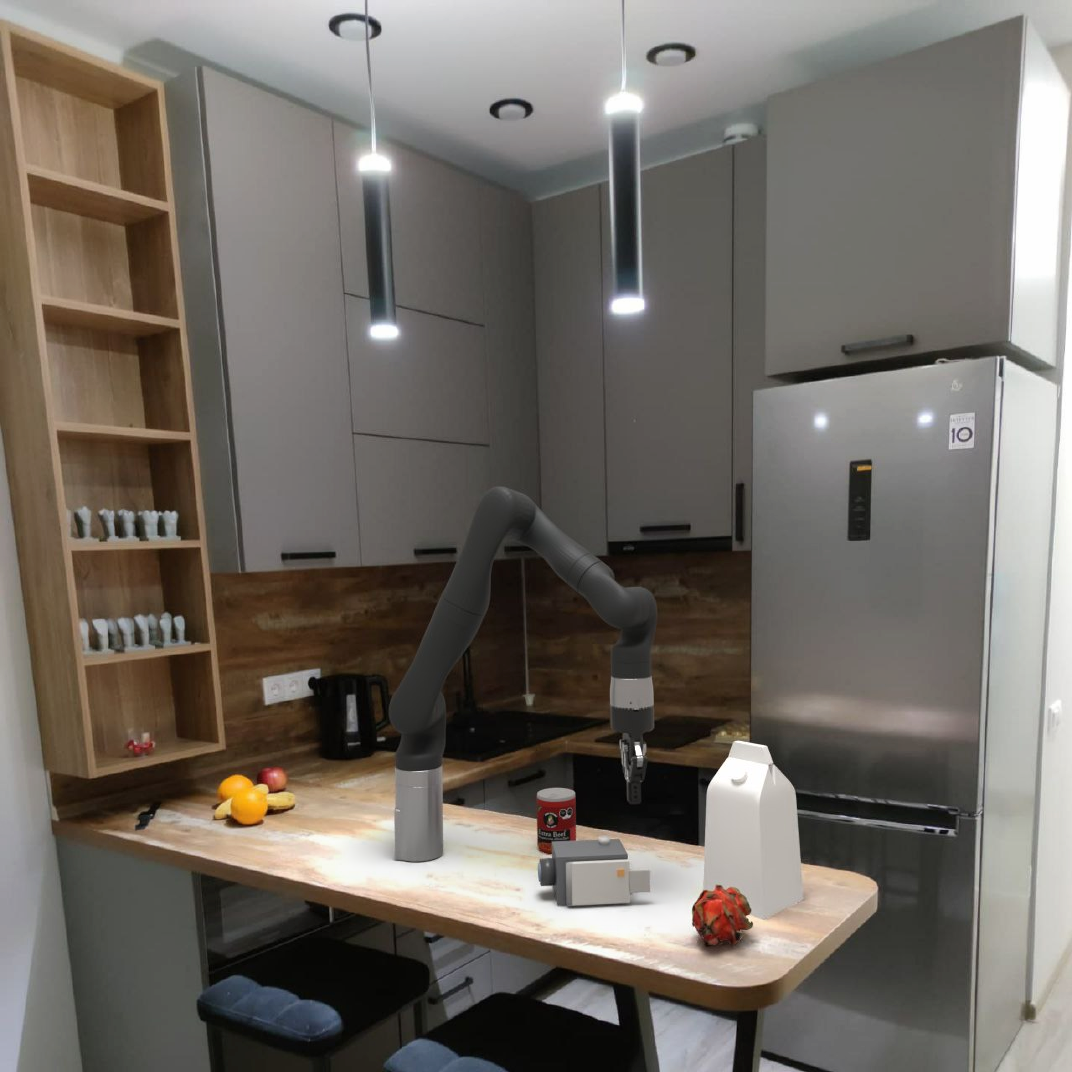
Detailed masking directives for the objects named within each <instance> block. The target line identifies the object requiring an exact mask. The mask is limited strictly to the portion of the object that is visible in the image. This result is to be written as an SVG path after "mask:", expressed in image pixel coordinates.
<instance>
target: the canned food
mask: <svg viewBox="0 0 1072 1072" xmlns="http://www.w3.org/2000/svg"><path fill="white" fill-rule="evenodd" d="M576 804H577V802H576V792H575V791H574V790H573V789H570V788H565V787H549V788H544V789H541V790H539V791H537V793H536V835H537V836H536V837H537V838H536V841H537V842H536V843H537V849H538V850H539V851H540V852H541V853H542V854H545V853H546V855H551V854H552V842H554V841H577V809H576V807H577V805H576Z"/></svg>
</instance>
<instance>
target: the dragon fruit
mask: <svg viewBox="0 0 1072 1072" xmlns="http://www.w3.org/2000/svg"><path fill="white" fill-rule="evenodd" d="M751 910H752V909H751V908H750V906H749V903H748V901H747V898H746V897H745V896H744V895H743V894H741V893H740V891H739V889H737V888H735V887H730V888H728V889H727V890H725V889H724V888H723V887H722V885H716V887H715V890H714V891H708V890H704V891H703V890H702V892H701V893H700V894H699V896H698V898H697V899H696V900H695V902H694V904H692V907H691V913H692V914H691V915H692V918H691V926H692V927H693V928H695V930H696V932H697V934H698V935H699V936H700V937H702V942H703V946H704V947H705V948H706V947H707V946H717V947H718V946H720V945H723V943H724V941H728V943H729V944H730V945H732V946H735V945H736V944H738V943H739V942H741V941H742V938H743V937H744V935H745V932H743V931H749V930H751V929H752V928H753V927H754V923H753V921H750V920H749V918H748V917H747V916H750V915H749V914H750V913H751Z"/></svg>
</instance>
